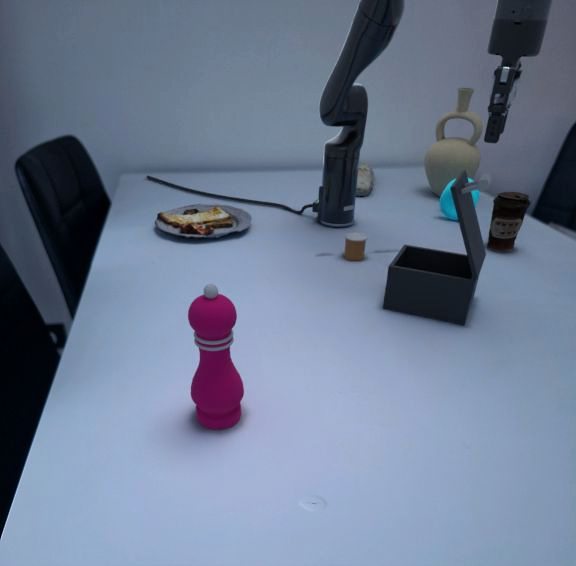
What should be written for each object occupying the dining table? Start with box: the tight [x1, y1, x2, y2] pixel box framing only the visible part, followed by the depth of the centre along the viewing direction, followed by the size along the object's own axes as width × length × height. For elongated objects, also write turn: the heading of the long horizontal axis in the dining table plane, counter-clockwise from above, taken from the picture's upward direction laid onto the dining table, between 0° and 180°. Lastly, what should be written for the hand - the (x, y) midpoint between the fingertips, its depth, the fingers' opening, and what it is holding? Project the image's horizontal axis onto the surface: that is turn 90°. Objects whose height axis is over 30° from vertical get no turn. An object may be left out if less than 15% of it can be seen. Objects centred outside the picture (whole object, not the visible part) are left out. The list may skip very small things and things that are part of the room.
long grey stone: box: [356, 161, 375, 197], centre depth 179 cm, size 35×5×10 cm
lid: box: [450, 170, 493, 280], centre depth 94 cm, size 16×13×5 cm
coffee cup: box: [486, 191, 532, 253], centre depth 128 cm, size 9×8×13 cm
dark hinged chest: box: [382, 244, 480, 326], centre depth 103 cm, size 16×13×9 cm
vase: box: [424, 87, 484, 197], centre depth 162 cm, size 17×17×30 cm
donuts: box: [439, 178, 481, 221], centre depth 150 cm, size 10×10×10 cm
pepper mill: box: [187, 283, 245, 430], centre depth 69 cm, size 7×7×20 cm
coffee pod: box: [344, 231, 368, 262], centre depth 124 cm, size 5×5×5 cm
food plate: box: [154, 203, 253, 239], centre depth 139 cm, size 25×23×4 cm
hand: (493, 137), depth 86 cm, fingers open, 8 cm apart
